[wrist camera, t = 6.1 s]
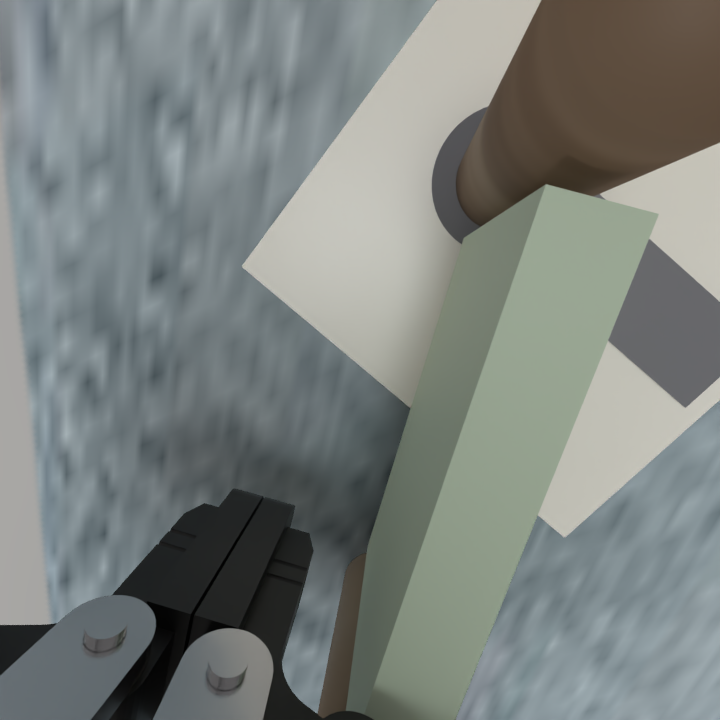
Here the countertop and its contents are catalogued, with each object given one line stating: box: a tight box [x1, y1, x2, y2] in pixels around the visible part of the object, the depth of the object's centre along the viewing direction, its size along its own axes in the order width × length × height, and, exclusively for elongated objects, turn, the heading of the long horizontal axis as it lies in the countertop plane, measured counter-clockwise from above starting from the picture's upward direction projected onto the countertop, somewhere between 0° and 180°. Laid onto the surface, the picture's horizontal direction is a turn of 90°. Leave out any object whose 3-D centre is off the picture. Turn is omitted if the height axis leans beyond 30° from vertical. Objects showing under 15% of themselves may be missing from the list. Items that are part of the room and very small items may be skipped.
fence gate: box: [318, 184, 659, 720], centre depth 8 cm, size 11×2×7 cm, turn 165°
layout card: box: [242, 0, 720, 538], centre depth 10 cm, size 16×12×1 cm
